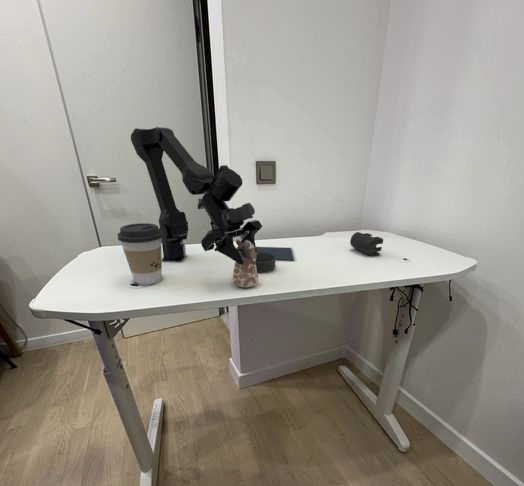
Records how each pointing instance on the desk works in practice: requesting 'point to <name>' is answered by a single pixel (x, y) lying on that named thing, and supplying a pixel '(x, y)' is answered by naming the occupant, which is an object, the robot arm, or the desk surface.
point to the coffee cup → (143, 251)
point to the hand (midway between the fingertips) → (249, 261)
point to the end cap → (366, 243)
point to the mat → (276, 252)
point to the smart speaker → (265, 262)
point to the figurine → (246, 266)
